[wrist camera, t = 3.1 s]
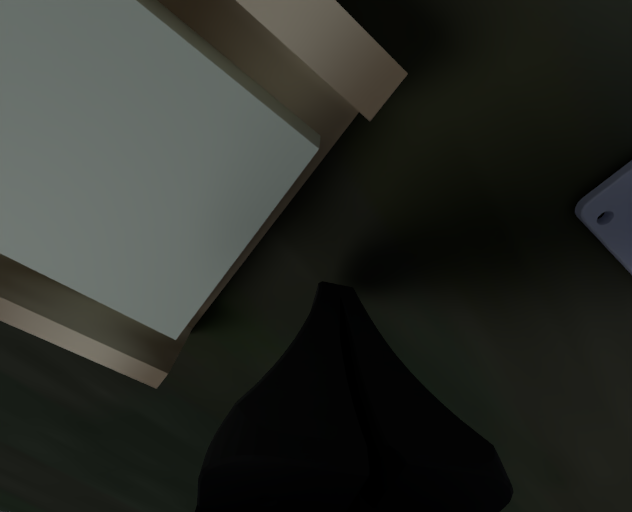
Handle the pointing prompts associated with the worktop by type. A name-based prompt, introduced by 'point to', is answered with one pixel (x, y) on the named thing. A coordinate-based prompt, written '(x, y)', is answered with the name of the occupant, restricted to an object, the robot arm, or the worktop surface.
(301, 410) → the robot arm
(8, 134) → the cover plate
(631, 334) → the worktop surface
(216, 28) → the slide case
